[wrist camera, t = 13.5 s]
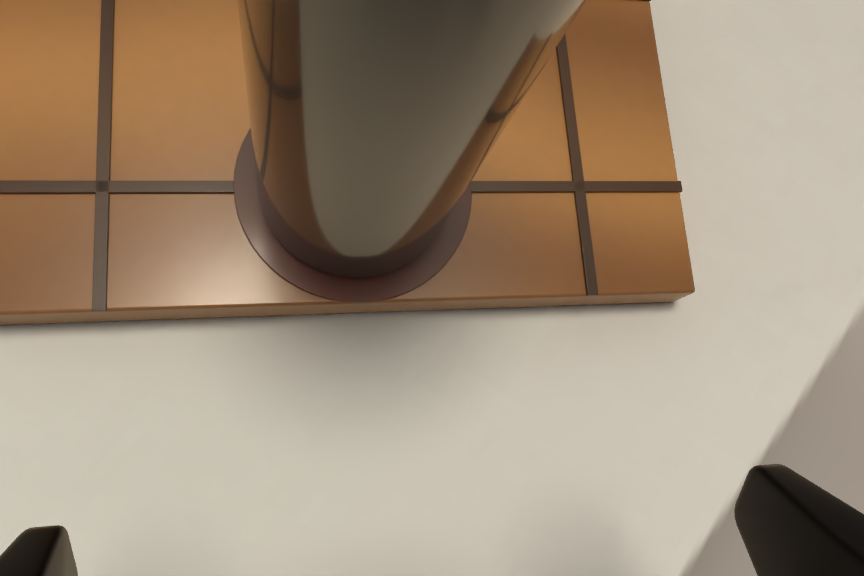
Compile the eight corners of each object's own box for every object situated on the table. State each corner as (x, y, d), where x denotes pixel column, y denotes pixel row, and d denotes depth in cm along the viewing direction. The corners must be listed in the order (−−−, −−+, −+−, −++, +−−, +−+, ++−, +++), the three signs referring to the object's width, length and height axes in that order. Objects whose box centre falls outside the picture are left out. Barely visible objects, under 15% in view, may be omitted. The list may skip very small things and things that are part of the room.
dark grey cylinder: (455, 276, 19) (791, -113, 6) (259, 281, 18) (195, -165, 5) (440, 101, 20) (700, -525, 7) (254, 97, 19) (192, -632, 6)
